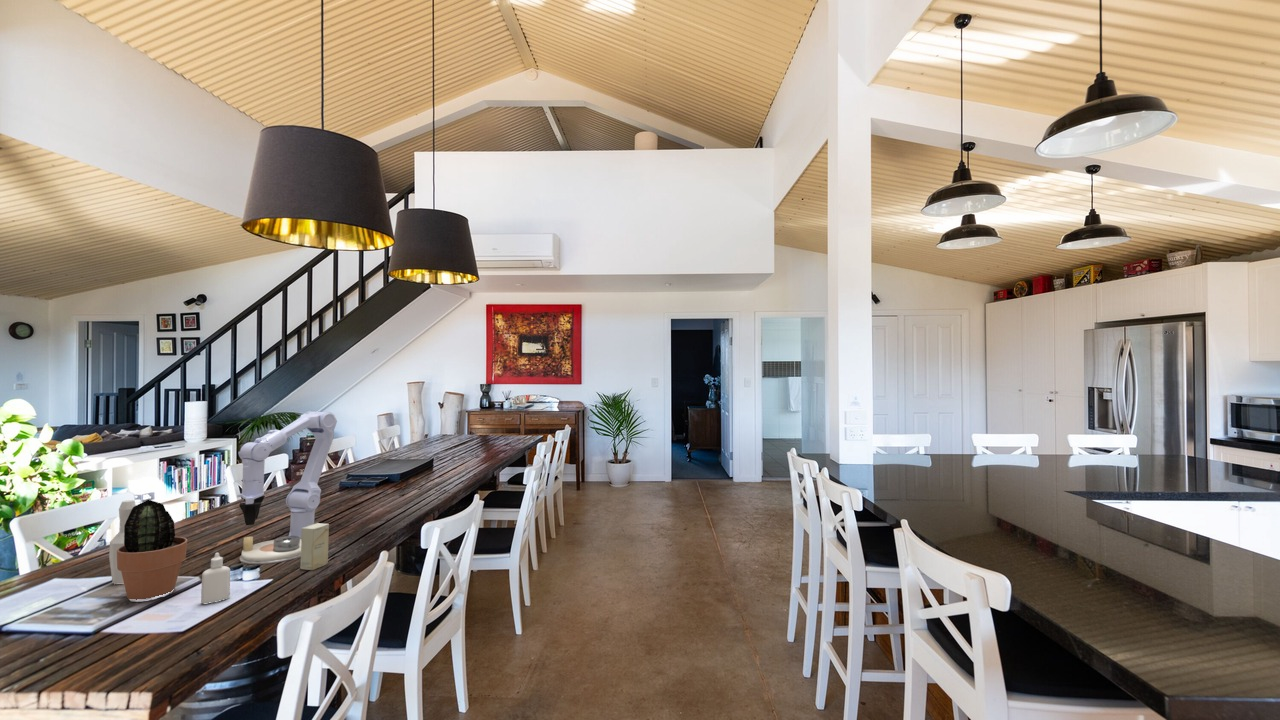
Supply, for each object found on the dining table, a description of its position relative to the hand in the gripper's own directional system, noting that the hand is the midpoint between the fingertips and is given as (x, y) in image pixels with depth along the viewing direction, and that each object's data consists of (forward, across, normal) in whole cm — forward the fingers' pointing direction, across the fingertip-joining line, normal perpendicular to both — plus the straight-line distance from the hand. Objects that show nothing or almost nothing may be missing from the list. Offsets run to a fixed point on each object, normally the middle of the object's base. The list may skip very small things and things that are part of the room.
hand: (251, 521), depth 176 cm
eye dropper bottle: (+10, +42, -2) cm, 43 cm away
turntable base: (+9, +6, +8) cm, 14 cm away
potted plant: (+10, +30, -18) cm, 36 cm away
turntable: (+9, +6, +8) cm, 14 cm away
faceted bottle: (+10, +16, -26) cm, 32 cm away
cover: (+7, +10, +10) cm, 16 cm away
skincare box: (+10, +24, +18) cm, 32 cm away
